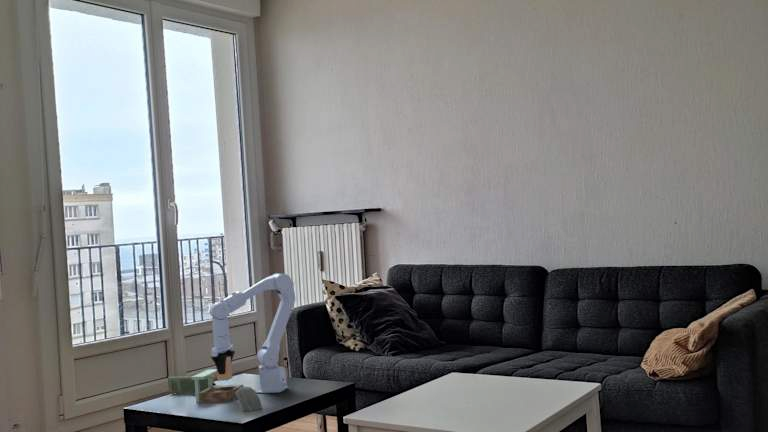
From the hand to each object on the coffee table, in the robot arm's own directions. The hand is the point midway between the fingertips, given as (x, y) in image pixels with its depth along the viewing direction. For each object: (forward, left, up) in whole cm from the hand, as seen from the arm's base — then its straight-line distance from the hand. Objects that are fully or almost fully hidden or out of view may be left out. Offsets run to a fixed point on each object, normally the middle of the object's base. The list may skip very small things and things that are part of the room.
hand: (224, 372), depth 291 cm
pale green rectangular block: (+7, 0, -9) cm, 12 cm away
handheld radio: (+17, -10, -10) cm, 22 cm away
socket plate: (+2, 0, -9) cm, 10 cm away
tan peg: (0, 0, -2) cm, 2 cm away
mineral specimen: (-17, +18, -10) cm, 26 cm away
